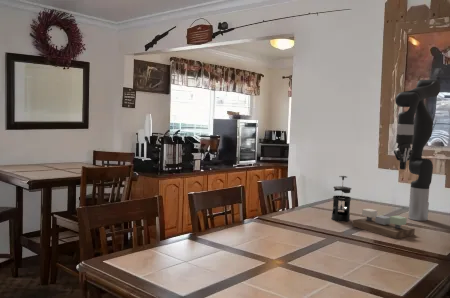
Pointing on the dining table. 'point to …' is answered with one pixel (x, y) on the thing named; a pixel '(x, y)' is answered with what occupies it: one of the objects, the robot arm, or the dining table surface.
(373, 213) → the cream block
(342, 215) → the french press
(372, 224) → the key panel
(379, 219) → the grey squarish block
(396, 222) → the sage key
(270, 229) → the dining table surface
